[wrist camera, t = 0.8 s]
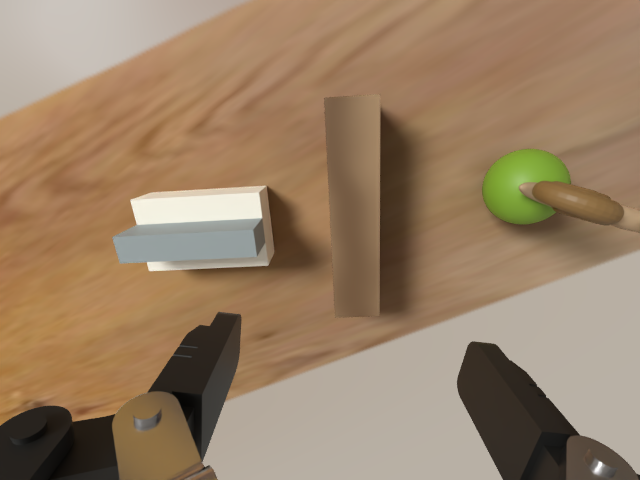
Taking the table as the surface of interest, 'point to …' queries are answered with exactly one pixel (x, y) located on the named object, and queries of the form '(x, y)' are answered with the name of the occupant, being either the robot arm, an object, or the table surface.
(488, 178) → the snail figurine
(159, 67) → the table surface
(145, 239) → the white grey stepped block
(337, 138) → the walnut bar
